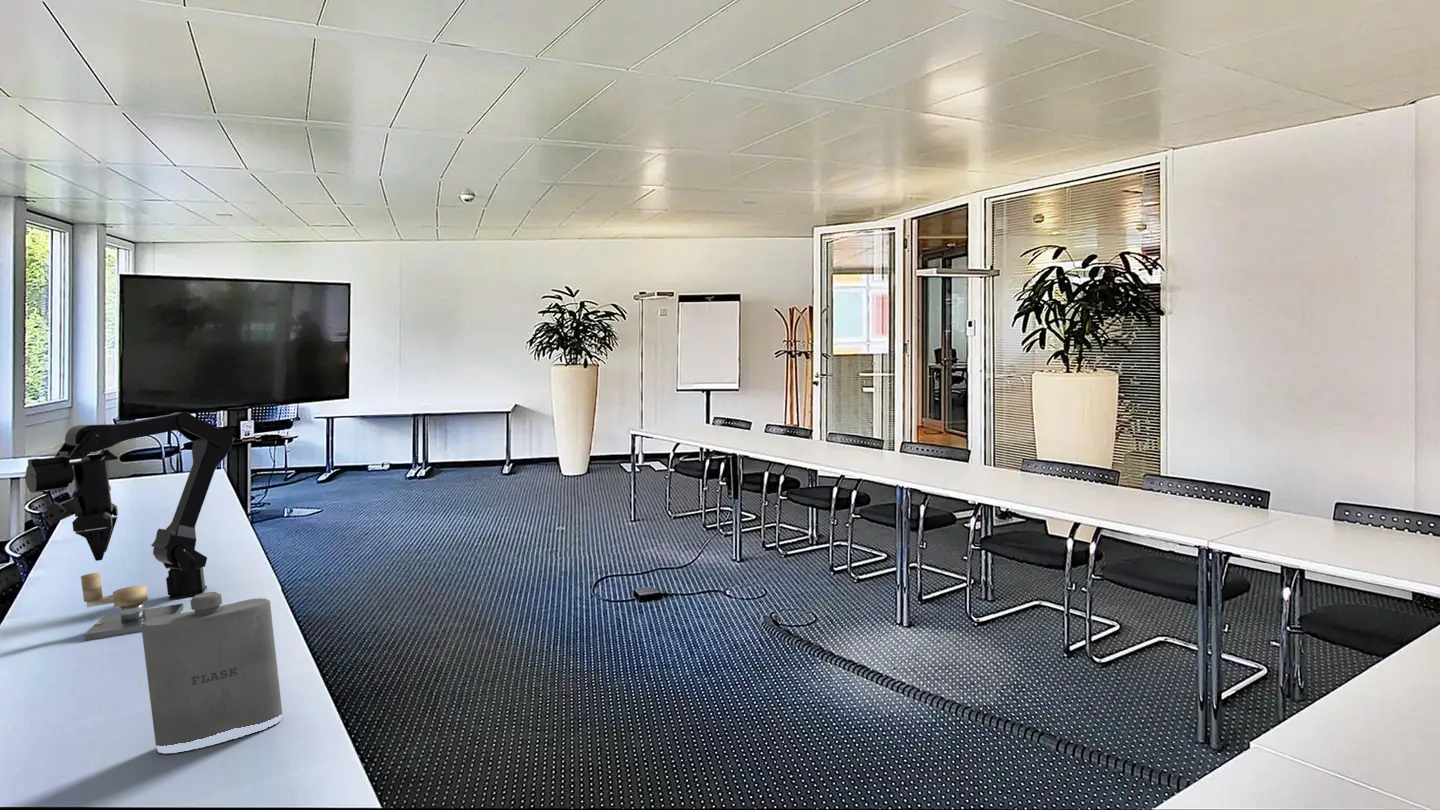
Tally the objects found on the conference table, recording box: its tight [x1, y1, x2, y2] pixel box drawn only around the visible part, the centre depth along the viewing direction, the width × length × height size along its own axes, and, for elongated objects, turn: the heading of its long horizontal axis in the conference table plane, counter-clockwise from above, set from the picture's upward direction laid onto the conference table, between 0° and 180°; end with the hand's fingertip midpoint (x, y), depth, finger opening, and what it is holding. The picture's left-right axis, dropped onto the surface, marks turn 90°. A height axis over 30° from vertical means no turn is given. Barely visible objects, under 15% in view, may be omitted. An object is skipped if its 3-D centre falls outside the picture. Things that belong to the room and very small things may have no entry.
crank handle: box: [80, 572, 149, 608], centre depth 164 cm, size 10×6×7 cm, turn 122°
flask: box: [141, 591, 283, 746], centre depth 111 cm, size 15×6×20 cm, turn 122°
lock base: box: [83, 602, 185, 642], centre depth 166 cm, size 14×13×4 cm
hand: (101, 556), depth 172 cm, fingers open, 9 cm apart
